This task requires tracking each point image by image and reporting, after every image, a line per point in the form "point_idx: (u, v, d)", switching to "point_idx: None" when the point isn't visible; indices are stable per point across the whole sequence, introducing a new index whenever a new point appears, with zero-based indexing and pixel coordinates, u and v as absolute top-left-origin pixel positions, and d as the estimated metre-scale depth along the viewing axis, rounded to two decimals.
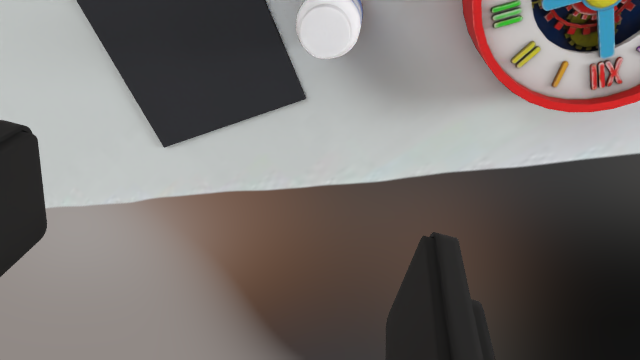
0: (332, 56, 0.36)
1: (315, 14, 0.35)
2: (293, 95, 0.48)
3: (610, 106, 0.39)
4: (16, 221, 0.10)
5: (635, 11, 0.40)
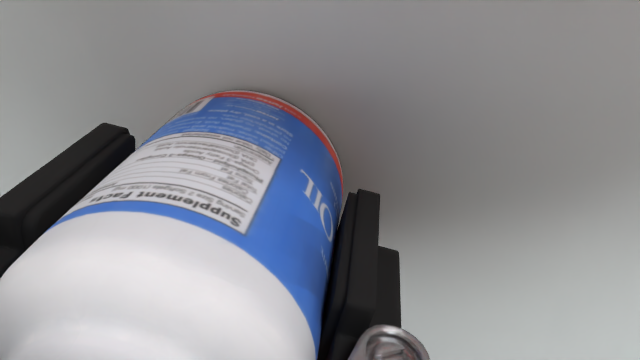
0: None
1: None
2: None
3: None
4: None
5: None
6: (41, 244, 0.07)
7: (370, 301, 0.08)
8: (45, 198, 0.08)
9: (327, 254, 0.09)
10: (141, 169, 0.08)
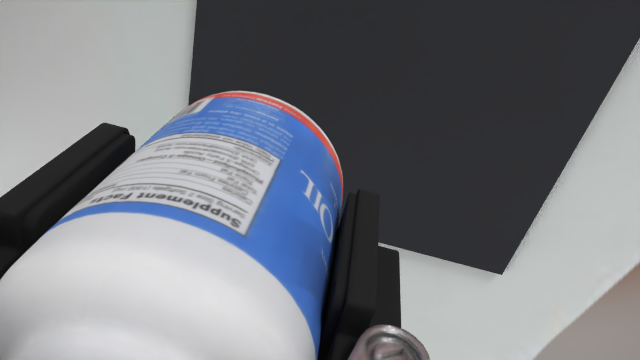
0: None
1: None
2: (636, 13, 0.22)
3: None
4: None
5: None
6: (41, 245, 0.07)
7: (370, 301, 0.08)
8: (45, 198, 0.08)
9: (327, 255, 0.09)
10: (140, 170, 0.08)
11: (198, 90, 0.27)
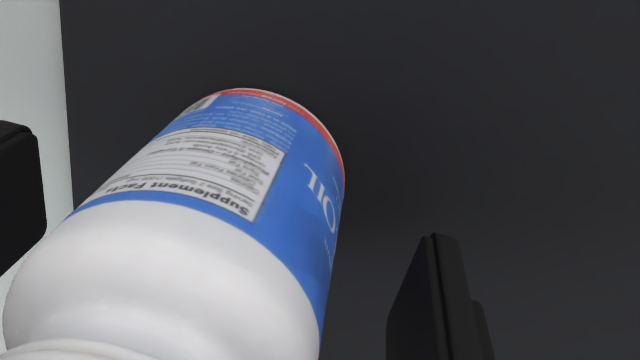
0: None
1: None
2: None
3: None
4: (16, 221, 0.10)
5: None
6: (61, 231, 0.07)
7: None
8: None
9: (330, 244, 0.10)
10: (152, 161, 0.09)
11: (87, 196, 0.15)
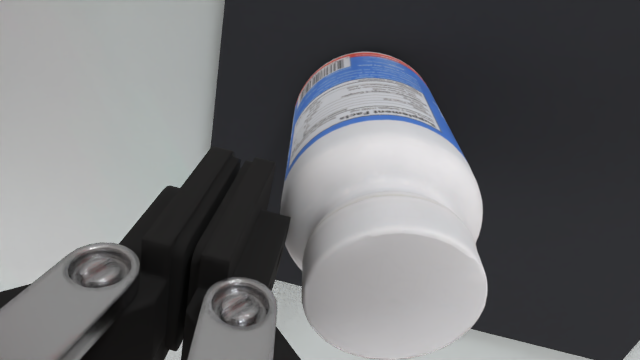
0: (474, 317, 0.10)
1: (321, 295, 0.10)
2: None
3: None
4: None
5: None
6: (335, 141, 0.11)
7: (226, 255, 0.08)
8: (188, 227, 0.09)
9: None
10: (355, 100, 0.13)
11: (223, 138, 0.20)
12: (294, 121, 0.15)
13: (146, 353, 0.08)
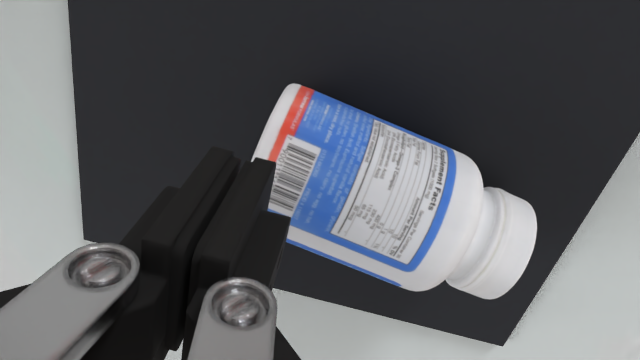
0: None
1: None
2: None
3: None
4: None
5: None
6: (459, 227, 0.14)
7: (227, 255, 0.08)
8: (188, 226, 0.09)
9: None
10: (408, 185, 0.14)
11: (86, 112, 0.20)
12: (313, 229, 0.15)
13: (146, 353, 0.08)
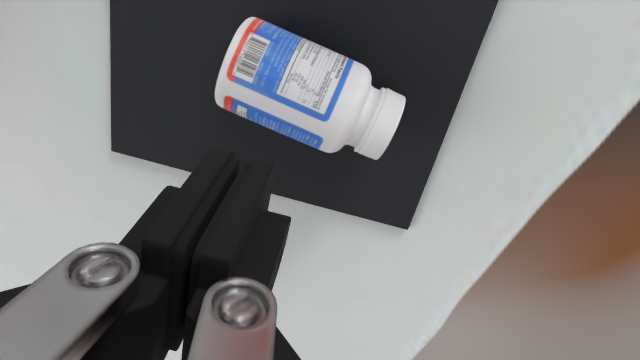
0: None
1: None
2: None
3: None
4: None
5: None
6: (354, 89, 0.24)
7: (226, 254, 0.08)
8: (188, 226, 0.09)
9: None
10: (323, 64, 0.24)
11: (118, 53, 0.30)
12: (265, 91, 0.24)
13: (146, 353, 0.08)
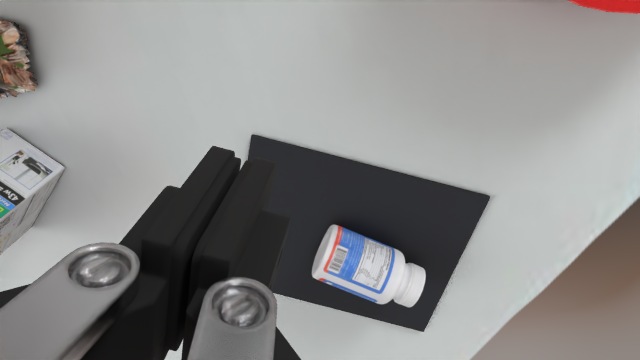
0: None
1: None
2: (477, 205, 0.42)
3: None
4: None
5: None
6: (396, 276, 0.41)
7: (227, 254, 0.08)
8: (188, 226, 0.09)
9: None
10: (378, 261, 0.41)
11: None
12: (345, 278, 0.41)
13: (146, 353, 0.08)
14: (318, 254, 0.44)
